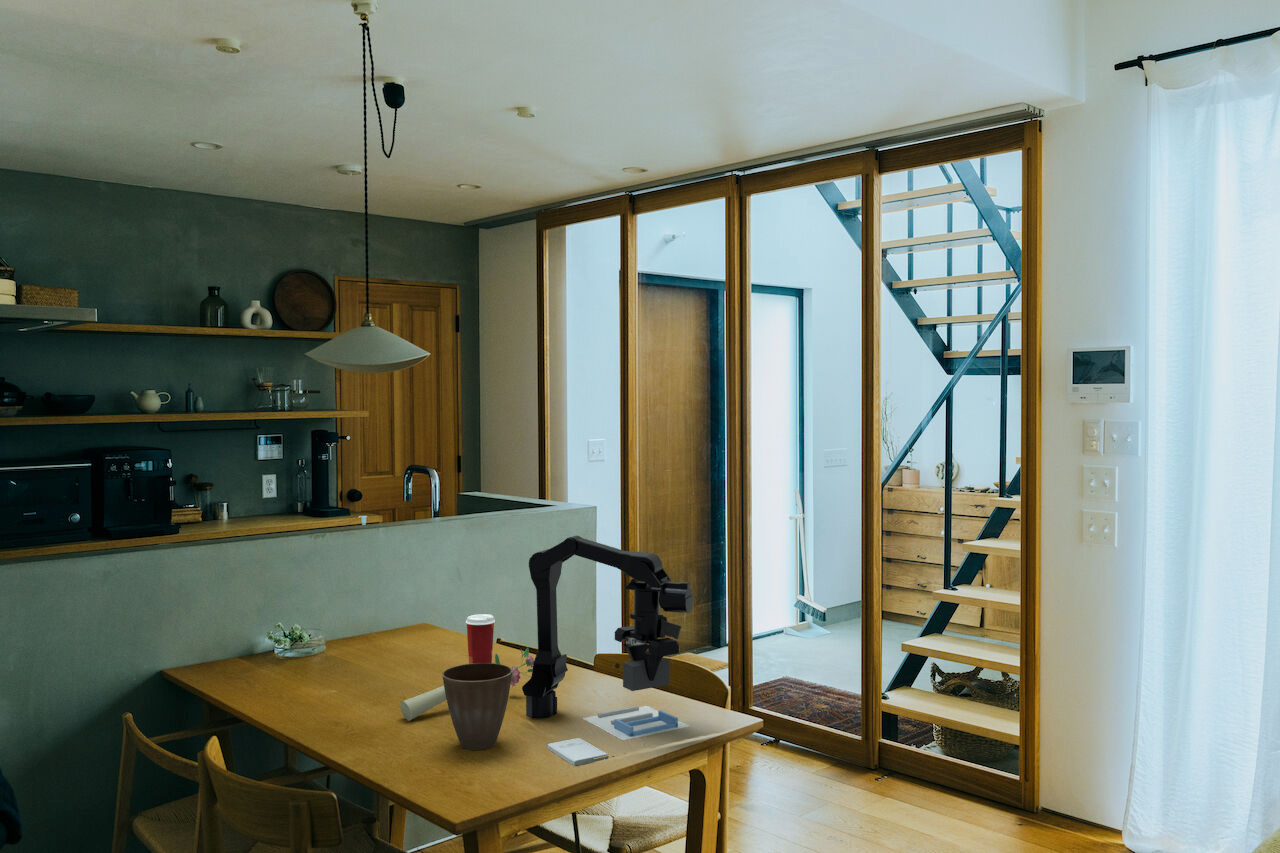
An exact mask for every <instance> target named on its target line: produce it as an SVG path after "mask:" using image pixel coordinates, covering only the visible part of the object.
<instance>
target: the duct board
mask: <svg viewBox="0 0 1280 853" xmlns="http://www.w3.org/2000/svg"><path fill="white" fill-rule="evenodd" d="M582 719H583V720H584V721H586V722H588V723H590V724H592V725H593V726H596V727H597V728H599V729H601V730H603V731H604V732H607V733H608V734H611V735H612V736H614V737H616V738H618V739H619V740H621V741H628V740H633V739H637V738H642V737H646V736H651V735H656V734H659V733H666V732H670V731H675V730H678V729H679V730H680V729H684V728H687V727H690V725H689V724H687V723H685V722H682V721H680V720H679V718H678V717H676V716H675V715H672V714H670V713H668V712H666V711H664V710H662V709H661V710H660V709H659V710H657V709H655V708H653V707H650V706H648V705H644V706H638V705H636V706H631V707H626V708H621V709H615V710H609V711H603V712H599V713H598V712H597V715H593V716H587V717H582Z"/></svg>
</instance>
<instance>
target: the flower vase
mask: <svg viewBox="0 0 1280 853" xmlns="http://www.w3.org/2000/svg"><path fill="white" fill-rule="evenodd" d="M529 649H530V648H529V647H526V649H525V650H524V652H523V650H522V649H520V651H521V652H520V653H521V656H520V660H521V663H522V664H521V665H520V666H515V665H514V666H512V667H511V669H512V676H511V684H510V686H512V687H515V686H516V684H518V683H519V682H520V679H521V674H522V675H524V676H525V677H529V679H531V678H532V675H531V676H528V675H527V673H532V670H533V663H534V660H535V658H534V657H532V656H531V655H530V654H529V653H530V650H529ZM525 658H526V659H525ZM524 659H525V660H524ZM523 661H525V663H523ZM494 664H501V662H500V658H499V655H498V654H497V653H495V654H494ZM525 665H526V667H530V668H528V669H527V671H526V672H525V673H524V672H521V671H520V670H519V668H521V667H523V666H525ZM445 701H447V699H446V694H445V689H444V684H443V685H442V686H439V687H437V688H434V689H431V690H429V691H427V692H424V693H421V694H418V695H416V696H415V695H414V697H411V698H407V699H405V700H403V701H401V702H400V710H401V713H402V715H403V717H404V719H405V720H406V719H407V720H406V721H408V720H409V721H408V722H411V721H412V720H414V719H416V718H417V717H419V716H421V715H423V714H424V713H426V712H427V711H429V710H431V709H433V708H434V707H436V706H439V704H441V703H443V702H445Z"/></svg>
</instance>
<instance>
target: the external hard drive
mask: <svg viewBox="0 0 1280 853" xmlns="http://www.w3.org/2000/svg"><path fill="white" fill-rule="evenodd" d="M546 746H547V747H546V748H547V750H549V751H551V753H554V754H555V755H556V756H558V757H560V758H562V759H563V760H565V761H566V762H567V763H569V764H570V763H571V764H570V765H571V766H573V765H574V766H573V767H576V766H575V765H577V766H581V765H580V764H582V765H586V764H585V763H587V764H590V763H595V762H596V763H597V762H599V761H604V759H605V760H609V759H608V758H609V754H608V753H607V752H605V751H604V750H602V749H600V748H598V747H596V746H594V745H593V744H591V743H589V742H587V741H586V740H584V739H582V738H580V737H576V738H571V739H566V740H561V741H554V742H550V743H548V744H547V745H546Z"/></svg>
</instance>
